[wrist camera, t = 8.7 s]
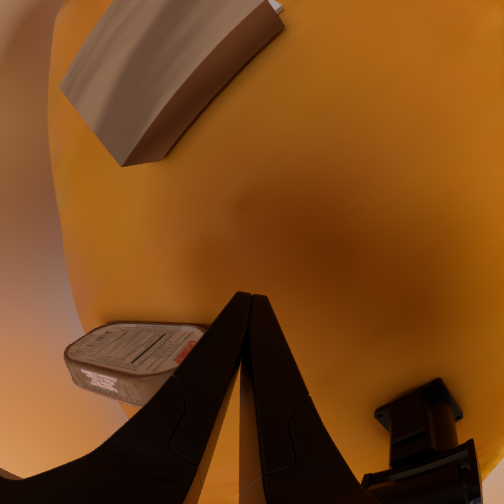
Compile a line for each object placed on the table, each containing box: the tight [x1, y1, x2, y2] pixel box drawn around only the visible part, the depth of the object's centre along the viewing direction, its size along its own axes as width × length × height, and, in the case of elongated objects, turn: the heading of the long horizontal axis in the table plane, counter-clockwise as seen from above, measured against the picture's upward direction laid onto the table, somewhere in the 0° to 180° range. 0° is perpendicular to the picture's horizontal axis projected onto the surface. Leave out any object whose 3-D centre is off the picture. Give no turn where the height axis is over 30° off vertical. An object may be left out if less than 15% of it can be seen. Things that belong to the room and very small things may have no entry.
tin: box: [64, 321, 206, 408], centre depth 22 cm, size 15×3×8 cm, turn 102°
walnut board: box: [59, 0, 285, 167], centre depth 15 cm, size 4×12×9 cm
